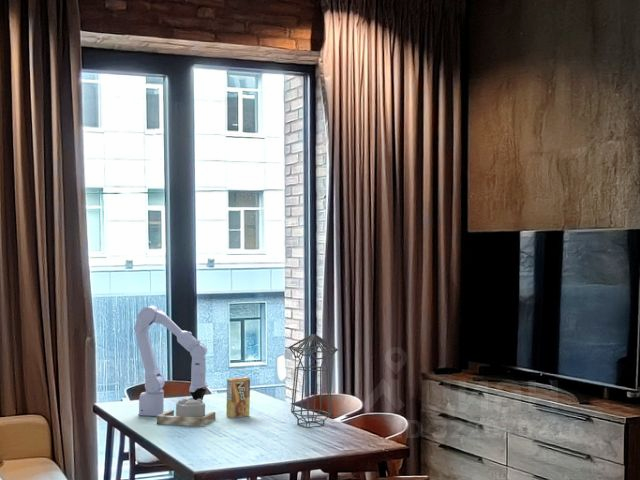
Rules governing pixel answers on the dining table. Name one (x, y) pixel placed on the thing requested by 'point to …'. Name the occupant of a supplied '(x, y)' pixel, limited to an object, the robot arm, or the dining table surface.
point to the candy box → (238, 397)
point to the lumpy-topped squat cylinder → (190, 408)
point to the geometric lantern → (318, 342)
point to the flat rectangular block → (184, 419)
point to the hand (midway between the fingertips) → (197, 407)
